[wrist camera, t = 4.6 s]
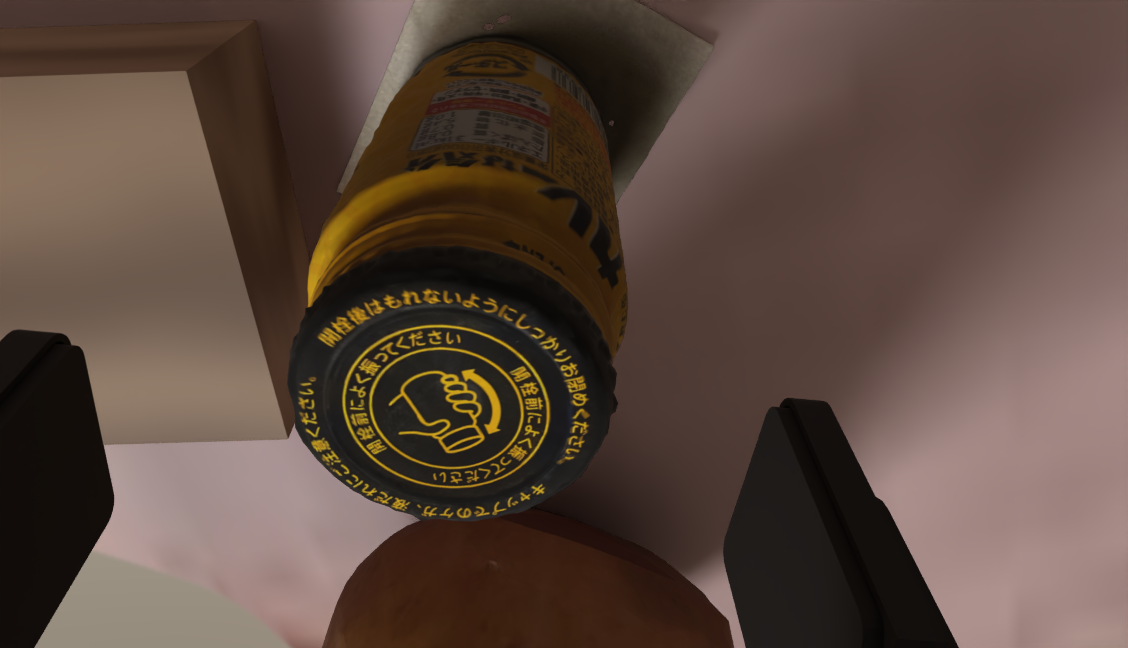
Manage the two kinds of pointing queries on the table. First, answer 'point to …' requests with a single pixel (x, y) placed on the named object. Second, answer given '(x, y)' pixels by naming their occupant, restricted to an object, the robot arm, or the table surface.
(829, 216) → the table surface
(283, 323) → the beige square block
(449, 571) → the butternut squash
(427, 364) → the condiment
